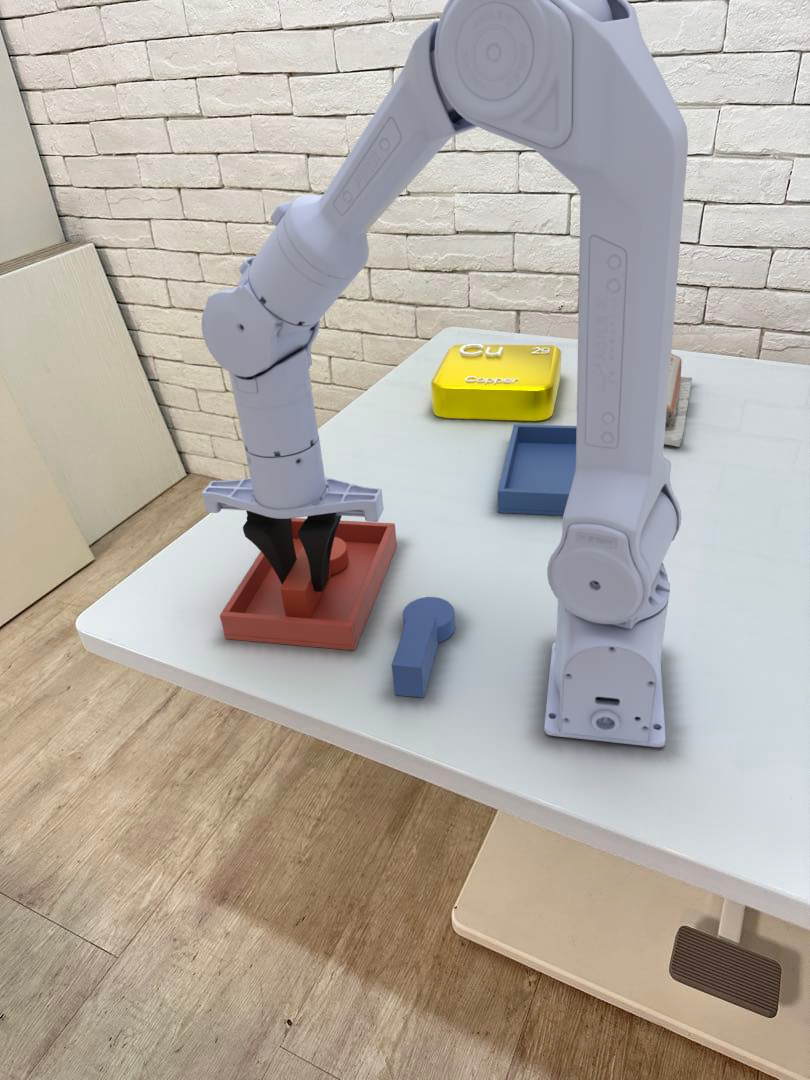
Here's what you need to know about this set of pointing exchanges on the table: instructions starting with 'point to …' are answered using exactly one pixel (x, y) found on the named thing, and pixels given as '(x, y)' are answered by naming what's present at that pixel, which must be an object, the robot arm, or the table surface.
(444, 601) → the blue spoon
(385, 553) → the red tray
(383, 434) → the table surface
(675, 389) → the packaged product
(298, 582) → the red spoon
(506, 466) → the blue tray
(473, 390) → the element tile
